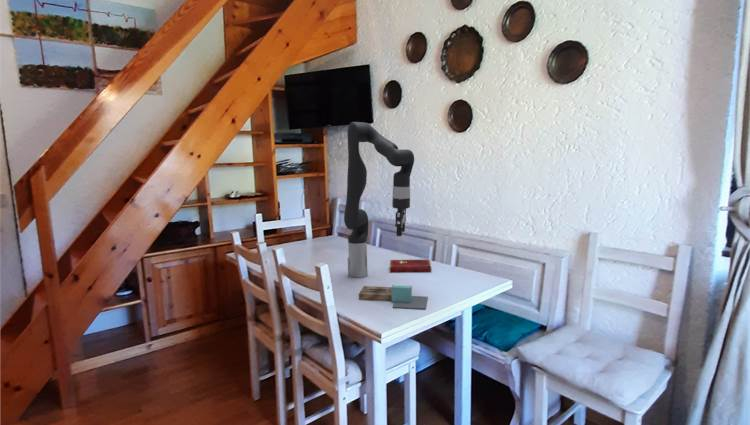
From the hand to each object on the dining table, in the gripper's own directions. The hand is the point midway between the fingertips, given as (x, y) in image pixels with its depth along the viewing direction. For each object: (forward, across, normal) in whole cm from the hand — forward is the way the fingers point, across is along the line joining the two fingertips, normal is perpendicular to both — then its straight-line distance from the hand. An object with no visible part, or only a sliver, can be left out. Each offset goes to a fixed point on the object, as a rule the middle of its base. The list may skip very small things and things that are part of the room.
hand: (400, 233), depth 179 cm
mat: (+26, +14, +7) cm, 30 cm away
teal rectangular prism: (+22, +14, +7) cm, 27 cm away
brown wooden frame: (+26, +8, -8) cm, 29 cm away
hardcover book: (+27, -34, 0) cm, 43 cm away
